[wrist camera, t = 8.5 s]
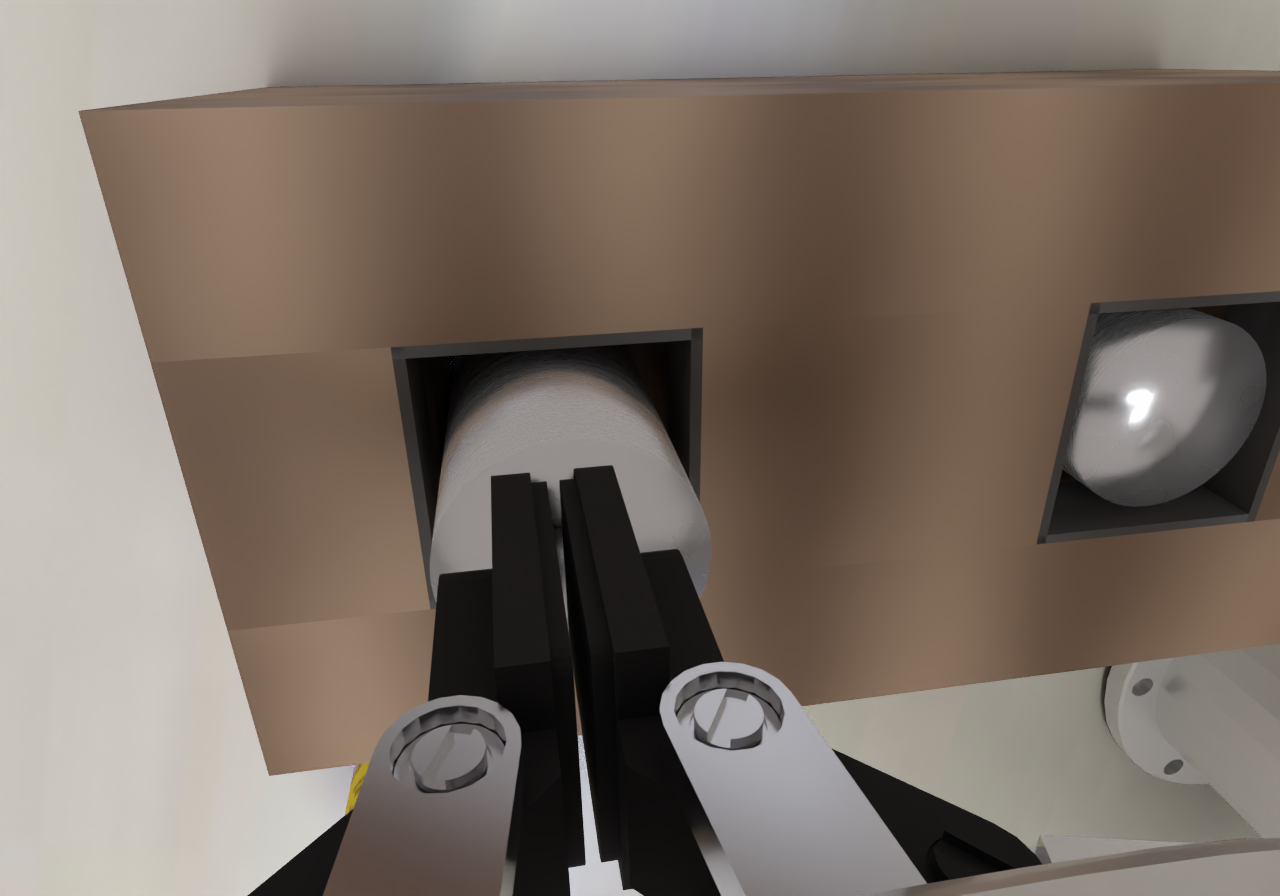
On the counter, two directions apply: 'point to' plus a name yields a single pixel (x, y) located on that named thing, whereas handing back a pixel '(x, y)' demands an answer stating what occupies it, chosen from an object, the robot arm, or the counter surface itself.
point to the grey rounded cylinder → (1163, 404)
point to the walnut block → (709, 355)
